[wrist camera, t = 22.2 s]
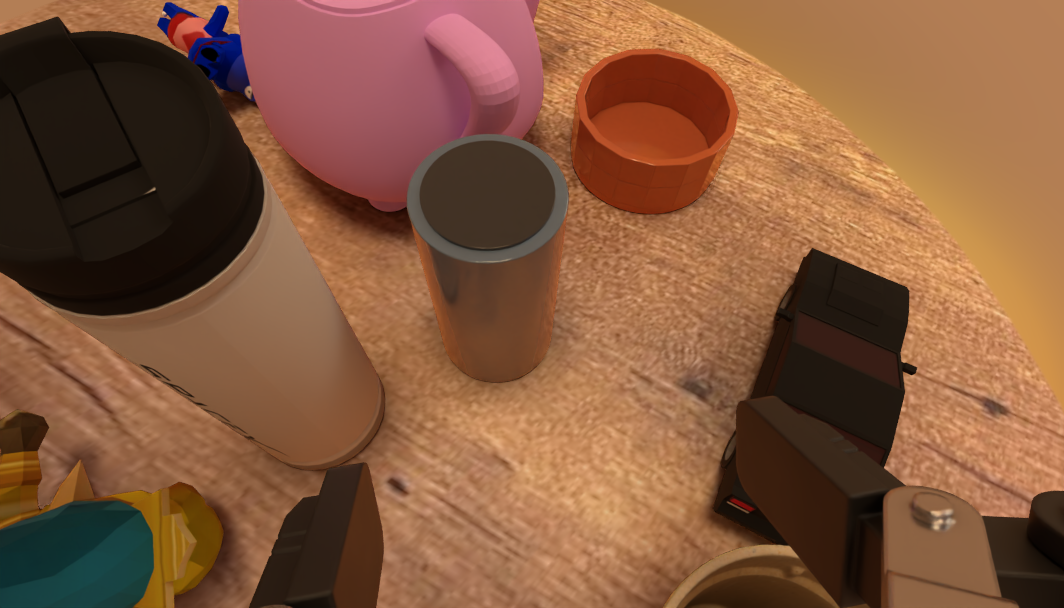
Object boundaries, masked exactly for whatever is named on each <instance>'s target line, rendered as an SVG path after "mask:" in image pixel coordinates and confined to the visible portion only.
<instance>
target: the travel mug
mask: <svg viewBox="0 0 1064 608" xmlns="http://www.w3.org/2000/svg"><path fill="white" fill-rule="evenodd" d="M0 272H1V273H3V274H4V275H6V276H8V277H9V278H11V279H13V280H15V281H16V282H18V284H19V285H21V286H22V287H24V288H25V289H27V290H28V291H29V292H30V293H31V294H32V296H33V297H34V298H35V299H37V300H38V301H40V302H41V303H43V304H44V305H46V306H48V307H49V308H51V309H53V310H55V311H56V312H58V313H59V314H60V315H61V316H62V317H64V318H66V319H67V320H69V321H70V322H72V323H73V324H75V325H76V326H78V327H79V328H81V329H82V330H84V331H85V332H87V333H88V334H90V335H91V336H93V337H94V338H96V339H97V340H99V341H100V342H102V343H103V344H105V345H106V346H108V347H109V348H111V349H112V350H114V351H115V352H117V353H118V354H120V355H121V356H123V357H124V358H126V359H127V360H129V361H130V362H132V363H133V364H135V365H136V366H138V367H139V368H141V369H142V370H144V371H146V372H147V373H149V374H150V375H152V376H153V377H155V378H156V379H158V380H159V381H161V382H162V383H164V384H165V385H167V386H168V387H170V388H171V389H173V390H174V391H176V392H177V393H179V394H180V395H182V396H183V397H185V398H186V399H188V400H189V401H191V402H192V403H194V404H195V405H197V406H198V407H200V408H201V409H203V410H204V411H206V412H207V413H209V414H210V415H212V416H213V417H215V418H216V419H218V420H219V421H221V422H222V423H224V424H225V425H227V426H229V427H230V428H232V429H233V430H235V431H236V432H238V433H239V434H241V435H242V436H244V437H245V438H247V439H248V440H250V441H251V442H253V443H254V444H256V445H257V446H259V447H260V448H262V449H263V450H265V451H266V452H268V453H269V454H271V455H272V456H274V457H275V458H277V459H278V460H280V461H282V462H283V463H285V464H287V465H289V466H292V467H295V468H298V469H305V470H319V469H327V468H330V467H333V466H337V465H339V464H341V463H343V462H345V461H347V460H349V459H351V458H352V457H354V456H355V455H356V454H358V453H359V452H360V451H362V449H363V448H364V447H365V446H366V445H367V444H368V443H369V442H370V441H371V439H372V438H373V436H374V435H375V433H376V432H377V430H378V428H379V425H380V423H381V421H382V417H383V413H384V408H385V395H384V390H383V386H382V383H381V381H380V379H379V377H378V375H377V373H376V371H375V369H374V367H373V366H372V364H371V362H370V360H369V358H368V357H367V355H366V353H365V351H364V350H363V348H362V346H361V344H360V342H359V341H358V339H357V337H356V335H355V333H354V332H353V330H352V328H351V326H350V324H349V323H348V321H347V319H346V317H345V315H344V314H343V312H342V310H341V308H340V306H339V305H338V303H337V301H336V299H335V297H334V296H333V294H332V292H331V290H330V288H329V287H328V285H327V283H326V281H325V280H324V278H323V276H322V274H321V272H320V271H319V269H318V267H317V265H316V263H315V262H314V260H313V258H312V256H311V254H310V253H309V251H308V249H307V247H306V245H305V244H304V242H303V240H302V238H301V236H300V235H299V233H298V231H297V229H296V227H295V226H294V224H293V222H292V220H291V219H290V217H289V215H288V213H287V211H286V210H285V208H284V206H283V204H282V202H281V201H280V199H279V197H278V195H277V193H276V192H275V190H274V188H273V186H272V184H271V183H270V181H269V180H268V178H267V177H266V175H265V173H264V170H263V168H262V166H261V165H260V163H259V161H258V160H257V159H256V157H255V156H254V155H253V154H252V152H251V151H250V149H249V148H248V146H247V145H246V144H245V143H244V140H243V138H242V136H241V133H240V132H239V130H238V128H237V126H236V124H235V123H234V121H233V119H232V117H231V116H230V114H229V112H228V110H227V108H226V107H225V105H224V103H223V101H222V100H221V98H220V96H219V94H218V93H217V91H216V89H215V87H214V85H213V84H212V83H211V81H210V80H209V79H208V78H207V76H206V75H205V74H204V72H203V71H202V70H201V69H200V68H199V67H198V66H197V65H196V64H194V63H193V62H192V61H191V60H189V59H188V58H187V57H186V56H184V55H183V54H181V53H179V52H178V51H176V50H174V49H172V48H170V47H168V46H166V45H164V44H162V43H160V42H157V41H154V40H151V39H147V38H144V37H141V36H138V35H132V34H126V33H119V32H112V31H85V32H76V33H70V31H69V30H68V29H67V27H66V26H65V25H64V23H63V22H62V21H61V20H60V18H59V17H55V18H52V19H49V20H46V21H43V22H40V23H36V24H33V25H30V26H27V27H24V28H21V29H18V30H15V31H12V32H9V33H6V34H3V35H0Z"/></svg>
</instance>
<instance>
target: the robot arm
mask: <svg viewBox="0 0 1064 608" xmlns="http://www.w3.org/2000/svg"><path fill="white" fill-rule="evenodd" d="M736 467H737V473H738V477H739V480H740V482H741V485H742V487H743V489H744V490H745V492H746V493H747V494H748V496H749V497H750V498H751V499H752V501H753V502H754V503H755V504H756V505H757V507H758V508H759V509H760V510H761V512H762V513H763V514H764V515H765V516H766V518H767V519H768V520H769V521H770V523H771V524H772V525H773V526H774V528H775V529H776V530H777V531H778V532H779V534H780V535H781V536H782V537H783V539H784V540H785V541H786V542H787V543H788V545H789V546H790V547H791V548H792V550H793V551H794V552H795V553H796V554H797V556H798V557H799V558H800V559H801V561H802V562H803V563H804V564H805V566H806V567H807V568H808V569H809V570H810V572H811V573H812V574H813V575H814V577H815V578H816V579H817V580H818V581H819V583H820V584H821V585H822V586H823V588H824V589H825V590H826V591H827V593H828V594H829V595H830V596H831V597H832V599H833V600H834V601H835V602H836V604H837V605H838V606H839V607H840V608H847V607H852V606H857V605H861V604H867V605H868V606H869V607H870V608H1064V491H1048V492H1043V493H1041V494H1038V495H1037V496H1035V497H1034V498H1033V500H1032V504H1031V509H1030V514H1029V518H1015V517H992V516H981V515H980V513H979V512H978V511H977V510H976V509H975V508H974V507H973V506H972V505H970V504H969V503H968V502H966V501H964V500H963V499H961V498H959V497H957V496H955V495H953V494H950V493H948V492H945V491H942V490H938V489H934V488H930V487H923V486H906V485H904V484H903V483H902V482H901V481H899V480H898V479H897V478H896V477H894V476H893V475H892V474H890V473H889V472H888V471H887V470H885V469H884V468H883V467H882V466H880V465H879V464H878V463H876V462H875V461H874V460H873V459H871V458H870V457H869V456H868V455H866V454H865V453H864V452H862V451H860V452H859V450H858V448H857V447H856V446H855V445H854V444H852V443H851V442H850V441H848V440H845V439H844V437H843V436H842V435H841V434H840V433H838V432H837V431H836V430H834V429H833V428H832V427H831V426H829V425H828V424H827V423H824V422H822V421H819V420H817V419H815V418H812V417H810V416H808V415H805V414H798V413H796V412H795V411H794V410H793V409H791V408H790V407H789V406H788V405H787V404H785V403H784V402H783V401H782V400H781V399H779V398H778V397H776V396H768V397H762V398H756V399H750V400H744V401H740V402H739V403H738V406H737V410H736ZM383 554H384V543H383V531H382V525H381V520H380V516H379V511H378V506H377V502H376V497H375V493H374V488H373V484H372V479H371V474H370V470H369V467H368V465H367V463H359V464H353V465H347V466H340V467H334V468H329V469H328V470H327V473H326V475H325V478H324V481H323V484H322V487H321V490H320V493H319V495H317V496H311V497H305V498H303V499H302V500H301V501H300V502H299V503H298V504H297V505H296V506H295V507H294V508H293V509H292V510H291V511H290V512H289V513H288V514H287V516H286V517H285V519H284V522H283V524H282V527H281V529H280V532H279V534H278V539H277V540H276V542H275V544H274V547H273V549H272V555H271V556H269V559H268V561H267V564H266V566H265V569H264V571H263V574H262V576H261V579H260V581H259V584H258V586H257V589H256V591H255V594H254V596H253V598H252V601H251V603H250V606H249V608H376V605H377V598H378V591H379V584H380V577H381V570H382V563H383Z"/></svg>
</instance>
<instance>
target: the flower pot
mask: <svg viewBox="0 0 1064 608" xmlns="http://www.w3.org/2000/svg"><path fill="white" fill-rule="evenodd" d="M663 608H840V607H839V606H838V605H837V604H836V602H835V601H834V600H833V599H832V597H831V596H830V595H829V594H828V593H827V591H826V590H825V589H824V588H823V586H822V585H821V584H820V583H819V581H818V580H817V579H816V578H815V577H814V575H813V574H812V573H811V572H810V570H809V569H808V568H807V567H806V566H805V564H804V563H803V562H802V561H801V559H800V558H799V557H798V556H797V554H796V553H795V552H794V551H793V550H792V548H791V547H790V546H783V545H755V546H749V547H742V548H738V549H735V550H732V551H729V552H726V553H724V554H722V555H720V556H718V557H715V558H713V559H711V560H710V561H708V562H706V563H705V564H703V565H702V566H700V567H699V568H697V569H696V570H695V571H693V572H692V573H691V574H690V575H689V576H688V577H686V578H685V579H684V580H683V581H682V582H681V583H680V585H679V586H678V587H677V588H676V589H675V590H674V592H673V593H672V594H671V596H670V597H669V598H668V600H667V601H666V603H665V605H664V606H663ZM847 608H870V607H869V606H868V605H867V604H861V605H857V606H852V607H847Z"/></svg>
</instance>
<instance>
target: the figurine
mask: <svg viewBox="0 0 1064 608" xmlns="http://www.w3.org/2000/svg"><path fill="white" fill-rule="evenodd" d="M228 14H229V11H228V8H227V7H226V6H223V5H220V6H217V8H216V10H215V12H214V14H213V16H212V17H211V19H210V20H209V22H208V21H207V20H205V19H203V18H201V17H199V16H197V15H195V14H193V13H191V12H189V11H187V10H184V9H182V8H180V7H178V6H176V5H175V4H173V3H171V2H167V3H165V6H164V8H163V12H162V15H163V16H164V17H166V16H167V15H169V17H170V18H171V20H169V19H167V18H160V19H159V22H158V24H157V26H158V27H159V28H160V29H161V30H162V31H163V32H164V33H165V34H166V35H167V37H168V38H169V40H170V42H171V43H172V44H173V45H174V46H175V47H177V48H179V49H181V50H183V51H185V52H186V53H188V59H189V60H191V61H192V62H193V63H194V64H196V65H197V66H198V67H199V68H200V69H201V70H202V71H203V72H204V74H205V75H206V76H207V78H208V79H209V80H213V81H214V82H215V83H216V85H217V86H218V87H219V88H221V89H223V90H226V91H229V92H233V91H238V92H241V93H242V94H243V95H244V96H245V97H246V98H247V99H249V100H250V101H256V100H255V98H254V95H253V92H252V89H251V85H250V82H249V78H248V74H247V70H246V66H245V61H244V57H243V52H242V45H241V37H240V35H239V34H228V33H226V32H224V31H222V30H223V28H224V25H225V23H226V20H227V17H228Z"/></svg>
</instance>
